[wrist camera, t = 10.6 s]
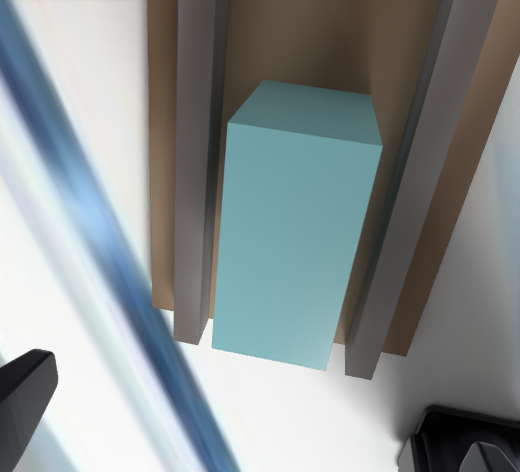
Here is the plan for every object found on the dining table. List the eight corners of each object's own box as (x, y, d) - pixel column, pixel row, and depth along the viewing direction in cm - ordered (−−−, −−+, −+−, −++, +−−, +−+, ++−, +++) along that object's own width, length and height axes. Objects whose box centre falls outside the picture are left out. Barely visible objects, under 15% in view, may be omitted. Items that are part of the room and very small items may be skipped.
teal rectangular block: (370, 95, 16) (382, 146, 11) (330, 273, 20) (325, 370, 15) (263, 79, 17) (227, 122, 12) (244, 257, 21) (211, 348, 16)
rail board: (532, -13, 15) (572, -12, 12) (403, 342, 23) (411, 387, 20) (157, -59, 16) (121, -67, 13) (159, 295, 24) (137, 332, 22)
